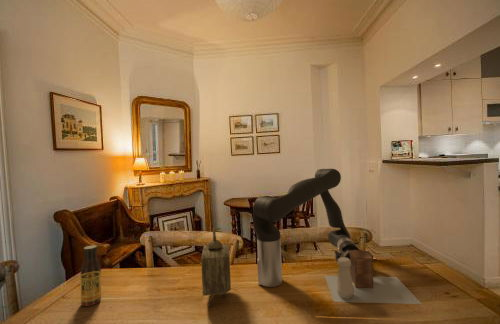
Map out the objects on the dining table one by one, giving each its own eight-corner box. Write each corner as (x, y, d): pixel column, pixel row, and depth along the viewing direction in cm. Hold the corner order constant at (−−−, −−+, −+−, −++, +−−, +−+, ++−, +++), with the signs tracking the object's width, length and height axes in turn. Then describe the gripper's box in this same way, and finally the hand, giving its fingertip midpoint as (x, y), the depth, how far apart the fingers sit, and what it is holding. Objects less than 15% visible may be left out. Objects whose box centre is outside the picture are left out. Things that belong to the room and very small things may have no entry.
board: (334, 302, 84) (334, 301, 84) (324, 276, 102) (324, 275, 102) (421, 305, 81) (421, 303, 81) (396, 277, 98) (396, 276, 98)
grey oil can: (207, 288, 97) (204, 223, 96) (230, 286, 98) (227, 221, 97) (203, 311, 83) (199, 234, 82) (231, 308, 83) (228, 232, 83)
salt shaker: (351, 291, 89) (350, 255, 89) (357, 301, 84) (355, 262, 83) (334, 291, 90) (333, 255, 90) (338, 300, 84) (337, 262, 84)
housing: (355, 287, 92) (354, 257, 91) (350, 278, 99) (349, 250, 98) (373, 288, 91) (372, 257, 91) (366, 278, 98) (365, 250, 98)
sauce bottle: (79, 309, 86) (76, 251, 86) (82, 300, 92) (78, 246, 91) (102, 303, 89) (98, 247, 89) (103, 295, 95) (99, 242, 94)
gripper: (330, 240, 114) (339, 254, 98) (364, 240, 112) (378, 254, 96) (331, 256, 114) (339, 273, 98) (364, 257, 112) (378, 274, 96)
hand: (358, 264), depth 97 cm, fingers open, 8 cm apart
